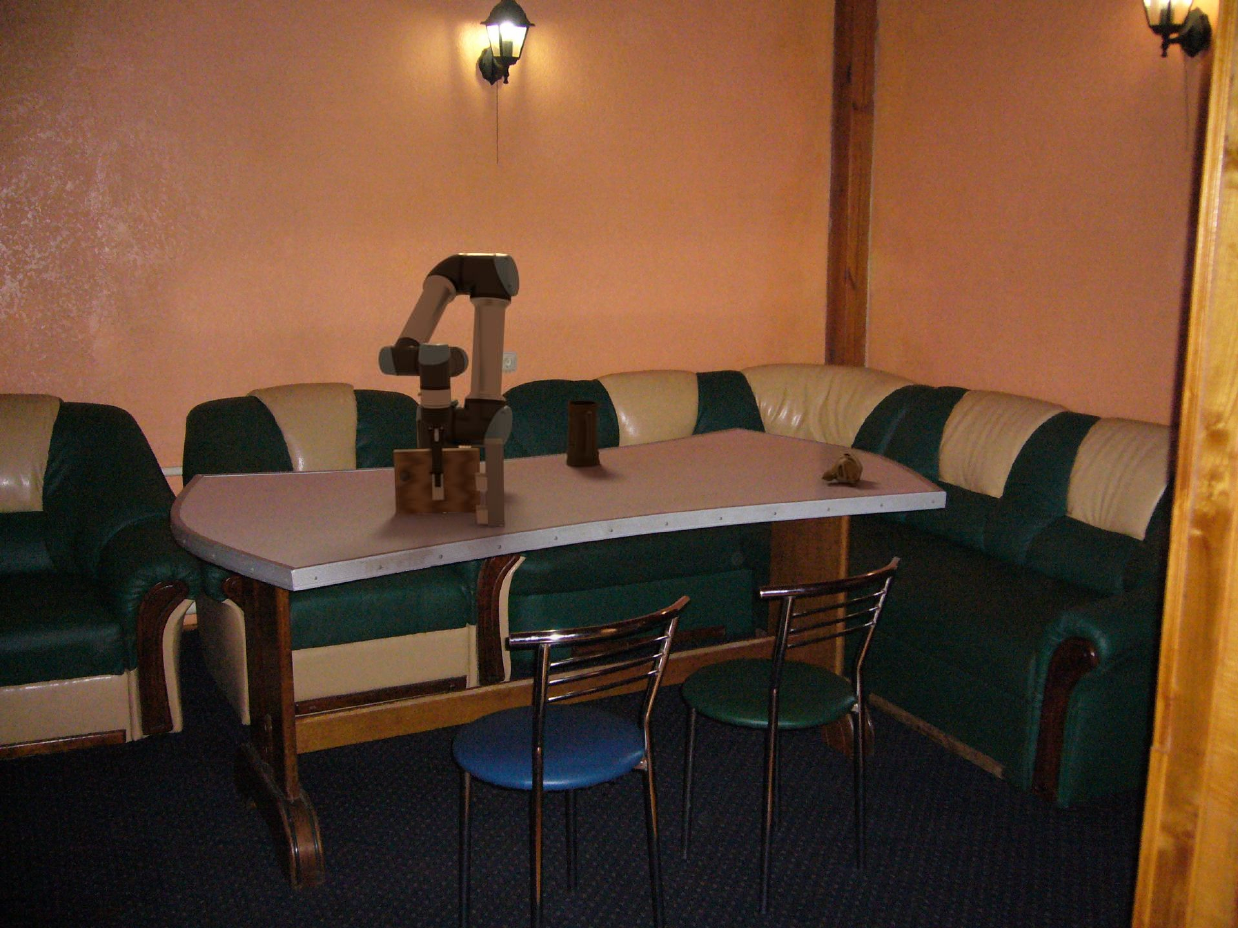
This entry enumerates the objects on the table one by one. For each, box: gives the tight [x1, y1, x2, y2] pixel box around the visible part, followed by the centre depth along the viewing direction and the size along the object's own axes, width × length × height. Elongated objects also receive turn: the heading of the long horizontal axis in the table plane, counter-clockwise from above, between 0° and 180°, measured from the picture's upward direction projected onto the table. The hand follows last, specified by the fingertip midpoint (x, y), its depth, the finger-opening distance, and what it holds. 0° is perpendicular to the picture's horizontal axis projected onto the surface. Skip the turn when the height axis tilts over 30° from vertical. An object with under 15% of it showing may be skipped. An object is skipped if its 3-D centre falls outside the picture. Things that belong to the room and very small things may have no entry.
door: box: [393, 447, 482, 515], centre depth 268 cm, size 21×4×16 cm, turn 99°
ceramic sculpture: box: [821, 452, 864, 485], centre depth 308 cm, size 11×9×15 cm
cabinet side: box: [475, 439, 506, 527], centre depth 257 cm, size 6×8×20 cm
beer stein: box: [565, 399, 601, 468], centre depth 328 cm, size 15×10×20 cm
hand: (438, 495), depth 269 cm, fingers open, 8 cm apart
